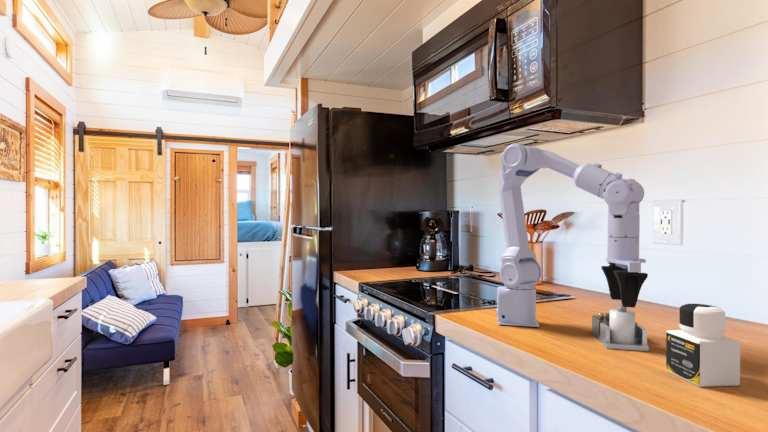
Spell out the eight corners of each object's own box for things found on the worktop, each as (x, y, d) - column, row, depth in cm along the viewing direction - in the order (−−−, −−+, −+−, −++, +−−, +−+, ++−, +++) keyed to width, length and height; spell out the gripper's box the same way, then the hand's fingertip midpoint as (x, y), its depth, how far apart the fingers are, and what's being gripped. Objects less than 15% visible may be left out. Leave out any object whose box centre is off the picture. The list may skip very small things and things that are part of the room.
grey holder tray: (606, 348, 86) (606, 322, 86) (592, 332, 98) (592, 309, 98) (648, 351, 84) (649, 325, 84) (628, 334, 96) (628, 311, 96)
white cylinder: (613, 343, 86) (613, 308, 86) (606, 336, 91) (606, 303, 91) (638, 344, 85) (638, 309, 85) (630, 338, 90) (630, 304, 90)
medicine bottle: (665, 371, 74) (665, 301, 74) (703, 370, 74) (704, 301, 74) (699, 387, 66) (699, 310, 66) (741, 386, 67) (741, 310, 67)
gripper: (659, 239, 80) (658, 311, 80) (632, 235, 94) (632, 297, 94) (617, 238, 82) (617, 309, 82) (597, 235, 96) (597, 295, 96)
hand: (622, 303), depth 88 cm, fingers open, 7 cm apart
